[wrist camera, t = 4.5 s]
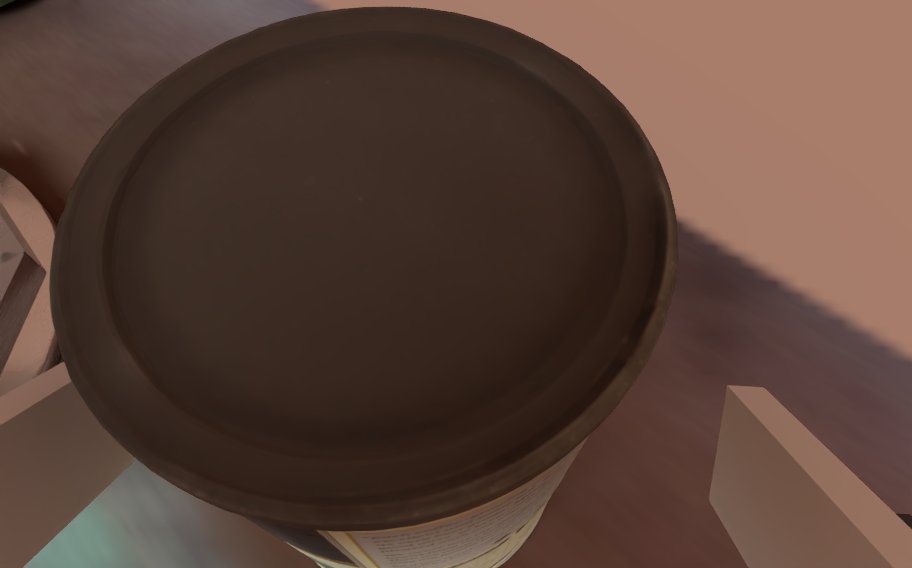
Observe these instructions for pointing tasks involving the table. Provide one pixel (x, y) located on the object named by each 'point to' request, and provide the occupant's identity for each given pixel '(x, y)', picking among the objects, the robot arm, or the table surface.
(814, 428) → the table surface
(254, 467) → the coffee can
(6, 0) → the character mug
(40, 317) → the locking base
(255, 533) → the table surface
